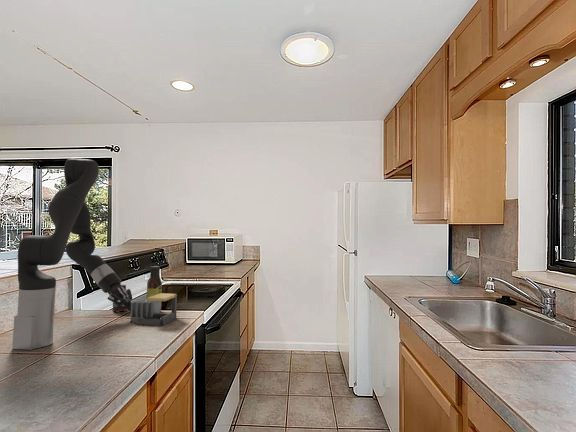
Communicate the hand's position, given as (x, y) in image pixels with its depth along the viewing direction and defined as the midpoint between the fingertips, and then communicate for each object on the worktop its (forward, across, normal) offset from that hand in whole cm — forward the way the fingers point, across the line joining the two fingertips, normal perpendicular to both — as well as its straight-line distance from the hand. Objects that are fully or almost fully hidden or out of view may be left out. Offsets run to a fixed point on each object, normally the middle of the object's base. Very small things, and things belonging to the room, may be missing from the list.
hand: (133, 310), depth 137 cm
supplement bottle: (-7, +14, +13) cm, 20 cm away
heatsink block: (+6, 0, -1) cm, 6 cm away
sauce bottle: (+3, +15, +2) cm, 15 cm away
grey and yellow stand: (+10, 0, -4) cm, 10 cm away
